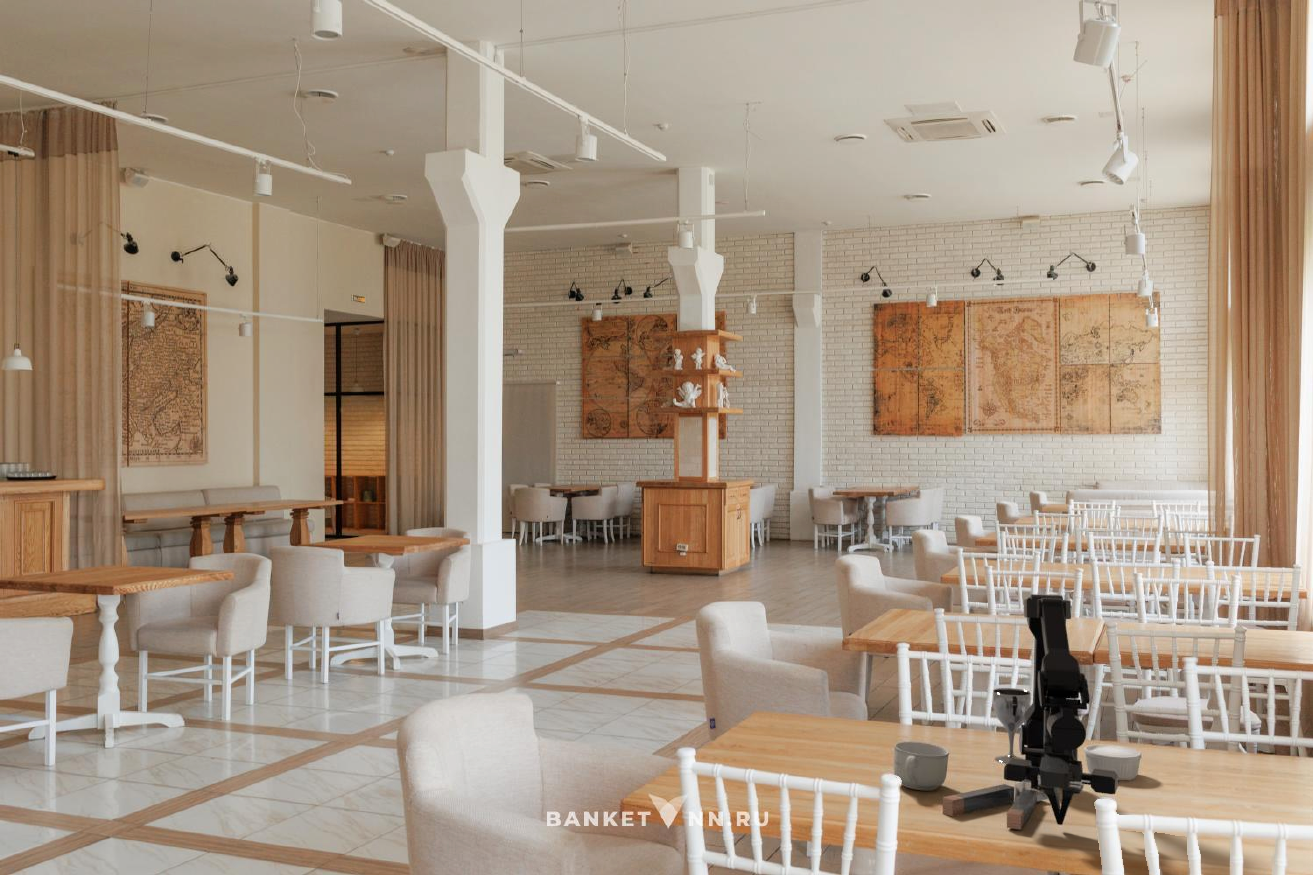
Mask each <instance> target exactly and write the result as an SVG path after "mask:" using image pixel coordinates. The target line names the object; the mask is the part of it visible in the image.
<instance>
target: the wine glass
mask: <svg viewBox="0 0 1313 875" xmlns="http://www.w3.org/2000/svg"><path fill="white" fill-rule="evenodd" d="M992 690H993V691H992V702H993V709H994V714H995V717H996V718H997V719H998V721H999V722H1000V724H1002V726H1003V727H1004V728H1005V730H1006V732H1007V735H1008V741H1009V744H1008V745H1009V752H1008V754H1007V755H998V756H995V757H994V761H996V762H998V763H1002V764H1005V765H1006V764H1007V762H1008V761H1009V760H1010V759H1012V758H1014V759H1022V760H1025V757H1022V756H1017V755H1015V753H1014V744H1015V736H1016V733H1017V731H1018V730H1019V729H1020V728H1021V725H1024V715H1025V713H1026V711H1027V710H1028V709H1029V707H1030V706H1031V699H1032V694H1031V691H1029V690H1025V689H1021V688H1013V687H999V688H994V689H992Z"/></svg>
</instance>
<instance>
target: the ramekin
mask: <svg viewBox="0 0 1313 875" xmlns="http://www.w3.org/2000/svg"><path fill="white" fill-rule="evenodd" d="M1083 751H1084V754H1085V758H1086V759H1085V761H1086V766H1087V771H1088V773H1089V774H1090V773H1091V774H1092V772H1093V770H1094V769H1101V770H1109V771H1115V772H1116V774H1117V775H1118V780H1128V781H1131V780H1130V779H1133V780H1135V779H1136V778H1137V776H1138V774H1139V768H1140V762H1141V759H1142V753H1141V752H1140V751H1139V750H1138V749H1135V748H1132V747H1127V746H1123V745H1122V746H1121V745H1115V744H1114V745H1113V744H1091V745H1087V746H1085V747H1084V750H1083Z"/></svg>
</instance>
